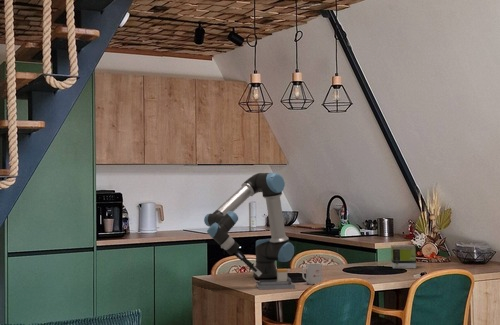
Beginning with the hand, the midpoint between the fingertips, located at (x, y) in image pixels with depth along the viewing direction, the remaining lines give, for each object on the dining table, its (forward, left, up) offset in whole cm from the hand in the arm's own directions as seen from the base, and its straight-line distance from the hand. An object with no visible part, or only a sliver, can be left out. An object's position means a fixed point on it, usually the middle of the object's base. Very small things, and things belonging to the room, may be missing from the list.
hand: (260, 274), depth 387 cm
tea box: (-115, +30, -7) cm, 119 cm away
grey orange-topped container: (-9, +9, -5) cm, 13 cm away
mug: (-26, +17, -7) cm, 32 cm away
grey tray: (-6, +6, -7) cm, 11 cm away
